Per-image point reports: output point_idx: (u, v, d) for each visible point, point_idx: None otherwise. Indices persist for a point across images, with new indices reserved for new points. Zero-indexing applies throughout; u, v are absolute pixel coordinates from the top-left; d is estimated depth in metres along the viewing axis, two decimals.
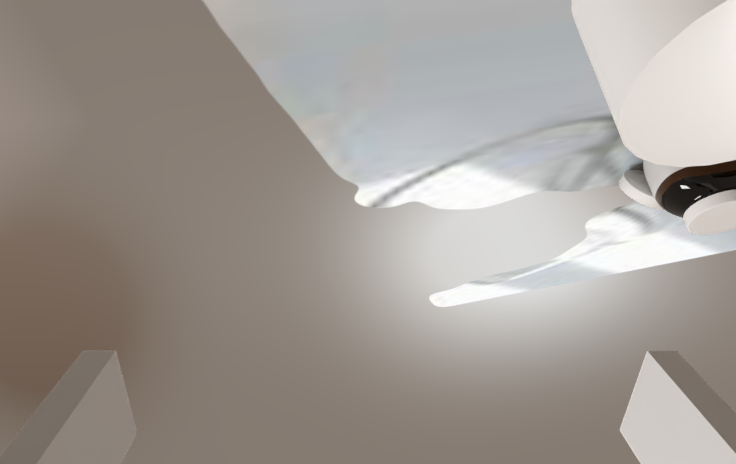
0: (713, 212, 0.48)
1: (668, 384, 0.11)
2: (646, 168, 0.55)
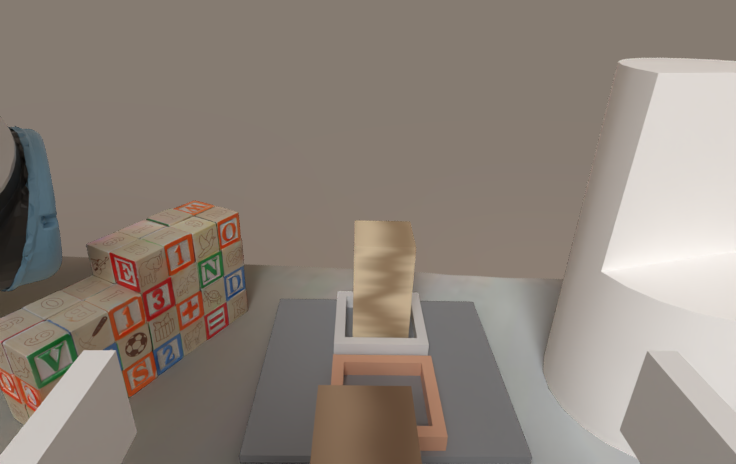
0: None
1: (668, 384, 0.11)
2: None
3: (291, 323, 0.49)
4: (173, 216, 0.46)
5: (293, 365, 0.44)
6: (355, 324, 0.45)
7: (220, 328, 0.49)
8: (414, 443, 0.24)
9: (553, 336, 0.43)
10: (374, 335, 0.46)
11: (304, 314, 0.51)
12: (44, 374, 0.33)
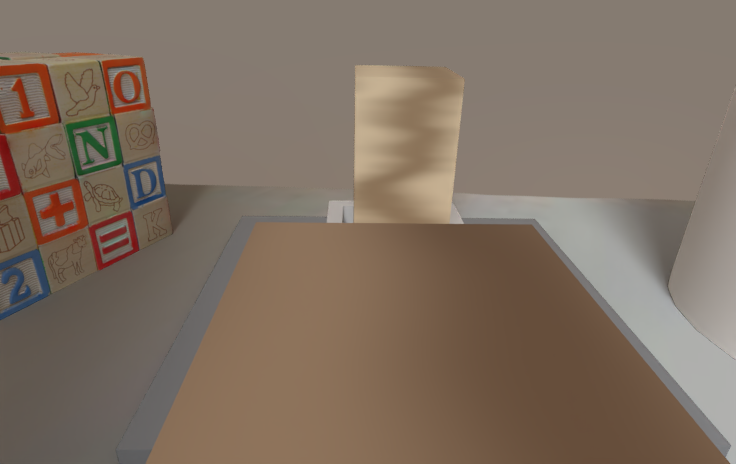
0: None
1: None
2: None
3: None
4: (24, 54, 0.27)
5: None
6: None
7: (123, 254, 0.30)
8: (625, 360, 0.06)
9: (704, 238, 0.25)
10: None
11: None
12: None
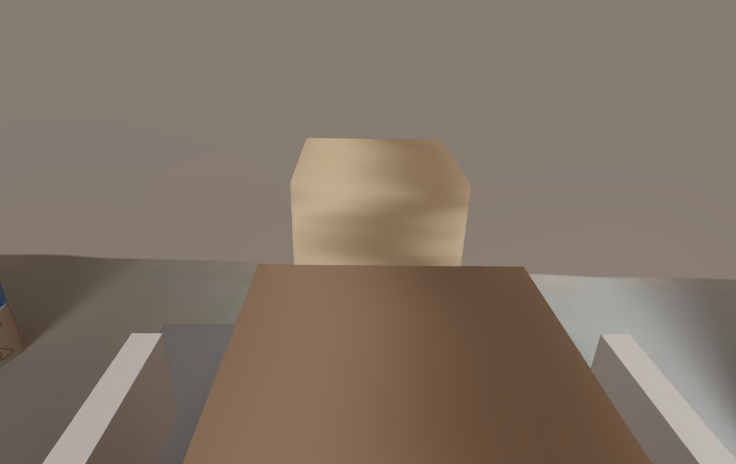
0: None
1: (618, 365, 0.11)
2: None
3: None
4: None
5: None
6: None
7: None
8: (604, 419, 0.06)
9: None
10: None
11: (205, 360, 0.23)
12: None
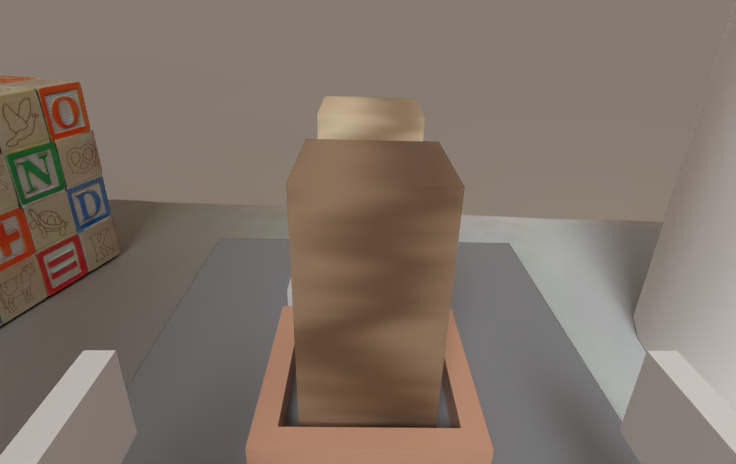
0: None
1: (668, 383, 0.11)
2: None
3: (228, 268, 0.31)
4: None
5: (218, 326, 0.26)
6: None
7: (72, 277, 0.31)
8: (448, 172, 0.16)
9: (663, 273, 0.25)
10: None
11: (251, 256, 0.33)
12: None
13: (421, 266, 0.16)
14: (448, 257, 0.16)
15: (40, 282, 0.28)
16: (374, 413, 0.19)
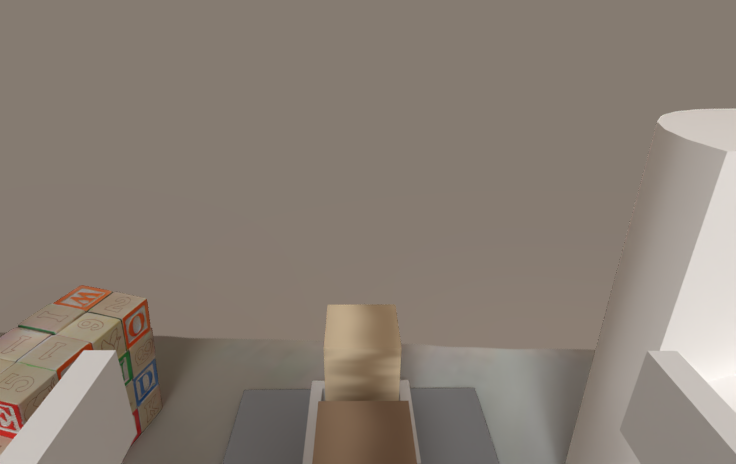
0: None
1: (668, 383, 0.11)
2: None
3: (253, 427, 0.40)
4: (57, 316, 0.35)
5: None
6: None
7: None
8: (411, 457, 0.25)
9: (577, 454, 0.34)
10: None
11: (270, 412, 0.42)
12: None
13: None
14: None
15: None
16: None
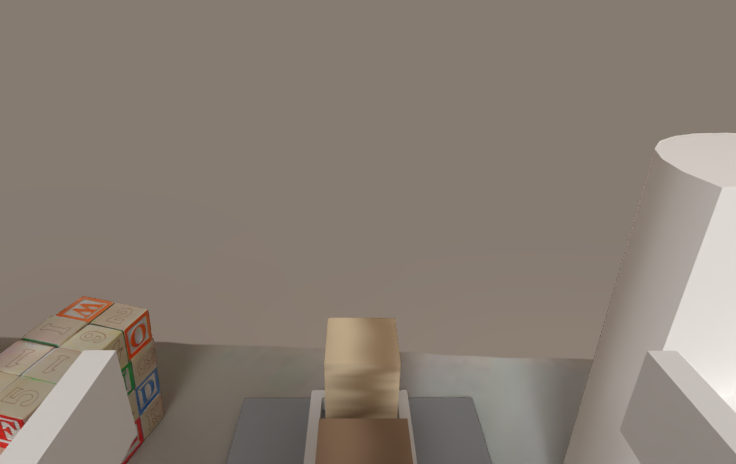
0: None
1: (668, 384, 0.11)
2: None
3: (254, 436, 0.41)
4: (60, 328, 0.35)
5: None
6: None
7: (134, 449, 0.40)
8: None
9: None
10: None
11: (271, 421, 0.43)
12: None
13: None
14: None
15: None
16: None
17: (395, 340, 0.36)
